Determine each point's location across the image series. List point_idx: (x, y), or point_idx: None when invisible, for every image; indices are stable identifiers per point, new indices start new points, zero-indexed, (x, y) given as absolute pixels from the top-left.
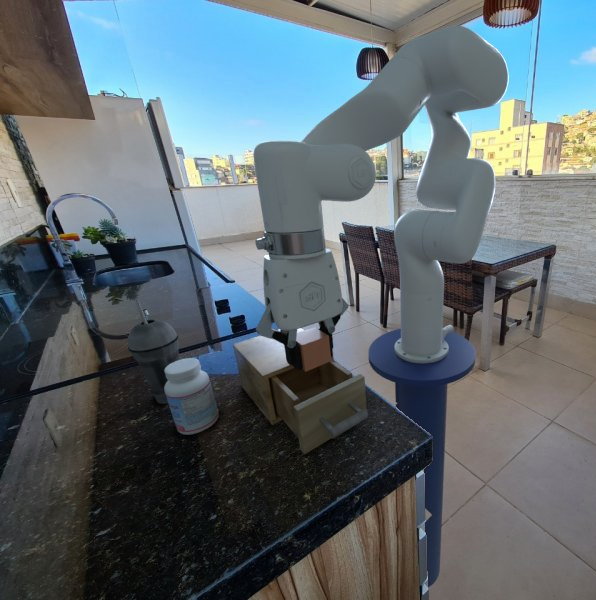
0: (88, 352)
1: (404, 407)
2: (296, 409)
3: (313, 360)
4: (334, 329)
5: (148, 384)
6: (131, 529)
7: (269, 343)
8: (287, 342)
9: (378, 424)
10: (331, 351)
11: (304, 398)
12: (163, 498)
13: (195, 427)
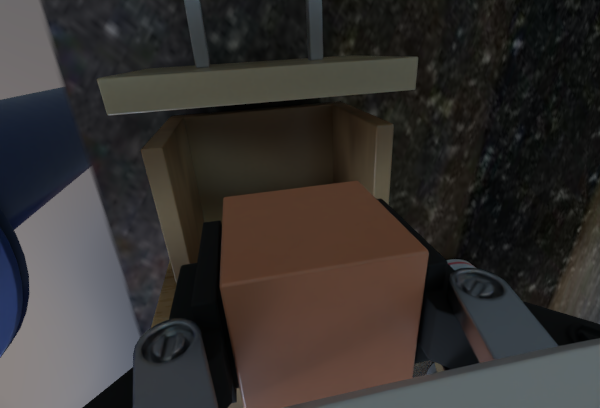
0: None
1: (9, 178)
2: (416, 66)
3: (325, 202)
4: (142, 342)
5: None
6: (587, 111)
7: None
8: (512, 296)
9: (126, 30)
10: (207, 235)
11: None
12: (541, 142)
13: (465, 265)
